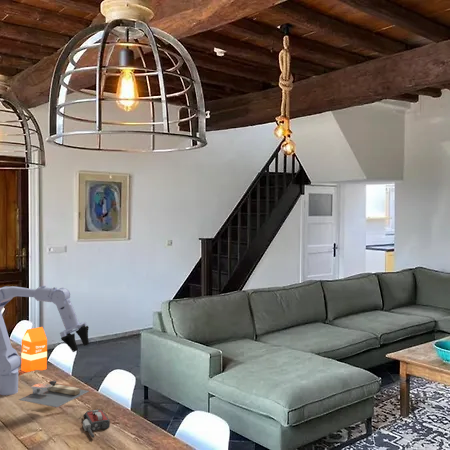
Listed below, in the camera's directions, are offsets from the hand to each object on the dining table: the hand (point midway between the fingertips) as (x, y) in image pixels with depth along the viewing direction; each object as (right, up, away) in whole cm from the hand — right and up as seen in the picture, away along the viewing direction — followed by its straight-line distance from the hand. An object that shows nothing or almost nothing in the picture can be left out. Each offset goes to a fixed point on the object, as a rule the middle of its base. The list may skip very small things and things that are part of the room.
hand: (81, 348), depth 204 cm
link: (-8, -19, +3) cm, 21 cm away
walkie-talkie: (+13, -22, -28) cm, 37 cm away
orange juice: (-33, -20, +37) cm, 53 cm away
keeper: (-16, -19, +1) cm, 25 cm away
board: (-11, -20, 0) cm, 23 cm away
